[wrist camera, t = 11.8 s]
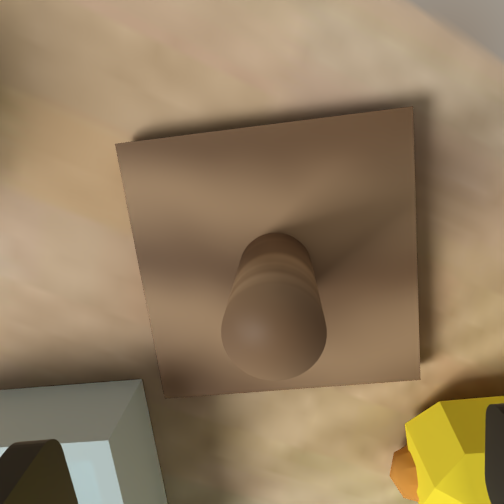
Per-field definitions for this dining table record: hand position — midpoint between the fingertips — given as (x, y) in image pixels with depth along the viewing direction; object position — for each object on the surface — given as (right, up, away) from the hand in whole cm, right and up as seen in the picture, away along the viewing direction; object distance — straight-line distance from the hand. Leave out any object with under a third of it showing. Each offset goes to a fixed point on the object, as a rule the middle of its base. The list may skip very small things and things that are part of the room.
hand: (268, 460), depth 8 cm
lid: (+1, +3, +13) cm, 14 cm away
